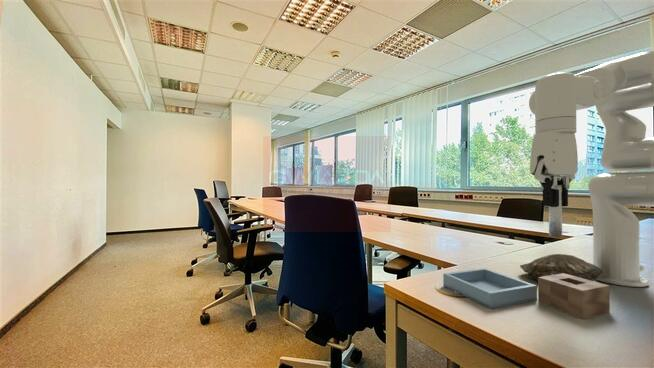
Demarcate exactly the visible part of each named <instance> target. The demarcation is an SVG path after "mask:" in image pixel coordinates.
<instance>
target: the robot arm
mask: <svg viewBox="0 0 654 368" xmlns="http://www.w3.org/2000/svg"><path fill="white" fill-rule="evenodd" d="M534 88H535V89H534V91H533V92H532V93H531V95H530V97H529V100H528V107H529V110H530V111H531V113H532V114H533V115H535V119H534V120H535V122H534V126H535V127H534V128H535V129H534V130H535V131H534V135H533V137H532V138H533V139H532V143H531V149H530V164H529V173H530V174H531V175H532V176H533V177H534V179H535V180H537V181H538V182H539V183H540V188H541V190H542V206H543V207H549V206H551V207H558V206H559V189H557V185H562V207H568V206H569V190H570V183H571V182H572V181H573V180H575V178H576V176H575V175H576V174H577V172H578V166H579V164H578V163H579V161H578V147H577V146H578V145H577V139H576V133H577V111H579V110H585V109H588V108H592V107H594V106H595V108H596V111H597V114H598V116H599V119H600V120H601V121H602V124H603V125H604V128H605V134H604V140H603V146H602V151H601V152H602V153H601V160H600V163H601V166H602V168H603V169H605V170H606V171H610V172H605V173H601V174H597V175H594V176H593V177H592V178H590V180H589V183H588V192H589V193H588V194H589V197H590V202H591V207H592V208H591V209H592V248H593V249H592V264H593V265H595V266H597V267H598V268H600V269H601V270H602V271H603V274H602V275H601V276H600V277H598V278H597V279H595V280H596V281H599V282H601V283H603V282H604V283H605V284H606V283H607V284H612V285H616V286H617V285H618V286H623V287H634V288H635V287H636V288H640V287H641V288H643V287H647V286H648V285H649V281H648V279H646V278H644V277H642V276H641V274H640V273H641V272H644V271H645V268H644V266H643V265H641V264H640V262H641V261H640V257H641V255H640V253H641V252H640V249H641V248H640V221H639V219H638V217H637V215H636V214H634V213H633V212H632V211H631V210H630V208H628V207H649V208H650V207H654V136H652V137H650V136H649V137H646V134H647V133H646V132H647V126H646V124H645V123H644V122H643V121H642V120H641V119H639V118H638V117H636V116H634V115H632V114H630V113H628V111H632V110H633V111H634V110H641V109H647V108H650V107H651V108H652V107H654V50H647V51H643V52H639V53H636V54H632V55H630V56H626V57H621V58H619V59H615V60H612V61H609V62H605V63H602V64H599V65H598V66H595V67H593V68H589V69H587V70H585V71H581V72H579V73H577V74H574V73H573V72H568V71H565V72H556V73H551V74H547V75H544V76H542V77H541V78H539V79H538V80H537V81H536V83H535V86H534Z"/></svg>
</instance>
